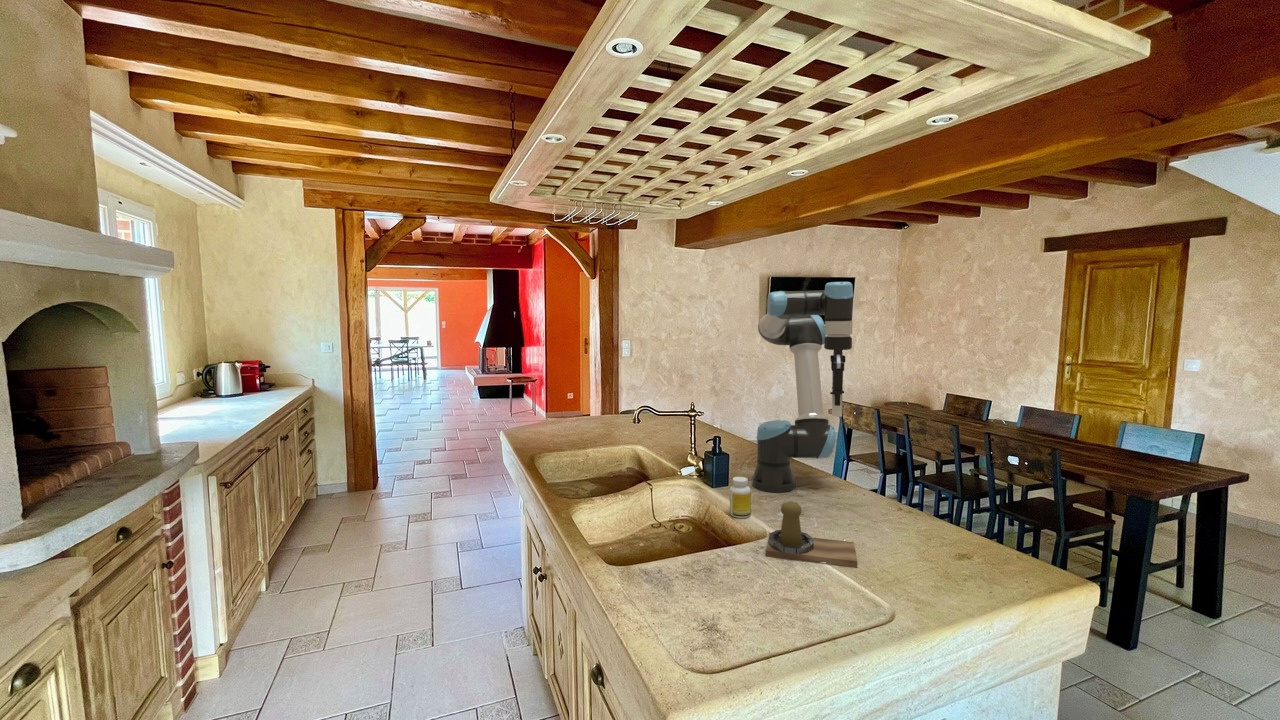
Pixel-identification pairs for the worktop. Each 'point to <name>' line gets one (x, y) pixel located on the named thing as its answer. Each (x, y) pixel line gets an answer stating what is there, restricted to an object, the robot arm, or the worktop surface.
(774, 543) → the ring holder
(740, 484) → the pill bottle
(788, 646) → the worktop surface
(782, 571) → the worktop surface
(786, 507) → the cork
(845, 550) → the walnut board
